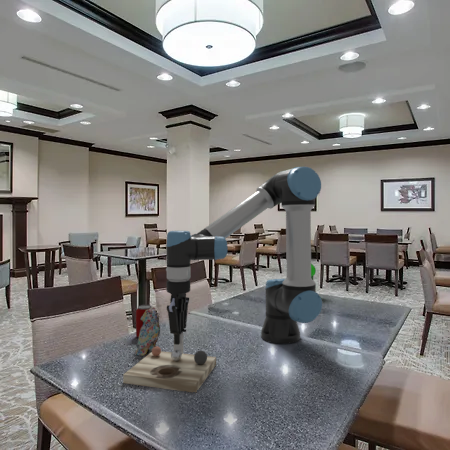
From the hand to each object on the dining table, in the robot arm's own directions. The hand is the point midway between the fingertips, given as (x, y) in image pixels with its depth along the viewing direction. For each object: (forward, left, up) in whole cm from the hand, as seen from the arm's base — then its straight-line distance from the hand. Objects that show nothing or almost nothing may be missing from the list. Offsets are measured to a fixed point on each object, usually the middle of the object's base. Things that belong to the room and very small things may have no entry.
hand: (178, 353), depth 114 cm
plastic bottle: (-35, -105, -4) cm, 111 cm away
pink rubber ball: (+8, 0, 0) cm, 8 cm away
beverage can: (+24, -22, -4) cm, 33 cm away
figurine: (+16, -9, -4) cm, 19 cm away
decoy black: (-8, +3, 0) cm, 9 cm away
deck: (0, +6, -4) cm, 7 cm away
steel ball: (0, +2, 0) cm, 2 cm away
